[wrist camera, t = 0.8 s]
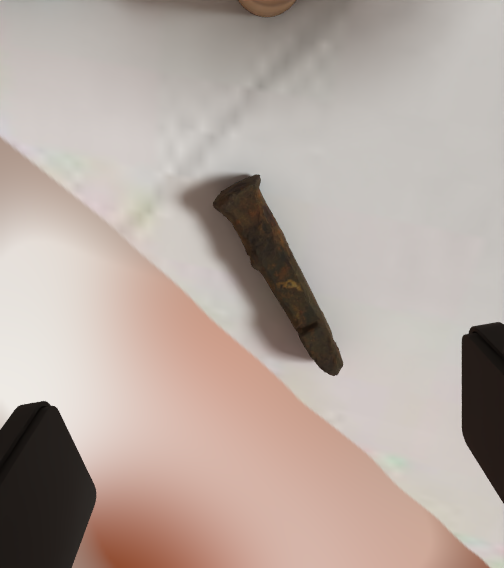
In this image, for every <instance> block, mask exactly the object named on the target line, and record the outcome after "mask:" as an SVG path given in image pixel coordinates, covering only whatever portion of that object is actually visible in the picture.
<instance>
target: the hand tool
mask: <svg viewBox="0 0 504 568" xmlns="http://www.w3.org/2000/svg"><path fill="white" fill-rule="evenodd" d="M260 182H261V179H260V175H254V176H251V177H248V178H246V179H244V180H242V181H240V182H238V183H236V184H234V185H232V186H230V187H229V188H227V189H225V190H223V191H221V193H220V195H218V196H217V198H216V199H215V201H214V202H213V206H214V208H215V209H216V210H218V211H219V212H221V213H222V214H223V215H224V216H225V217H227V219H228V220H229V221H230V222H231V223H232V224H233V226H234V228H235V230H236V231H237V233H238V235H239V236H240V238H241V241H242V243H243V245H244V246H245V249H246V252H247V254H248V255H249V256H250V260H251V265H252V266H253V268H254V269H256V270H259V271H260V272H261V273H262V275H263V276H264V278H265V279H266V281H267V283H268V284H269V286H270V288H271V290H272V291H273V293H274V295H275V296H276V298H277V299H278V301H279V302H280V304H281V306H282V307H283V309H284V310H285V312H286V314H287V315H288V317H289V319H290V321H291V323H292V324H293V326H294V328H295V329H296V331H297V332H298V334H299V337H300V340H301V342H302V343H303V345H304V347H305V348H306V349H307V351H308V353H309V355H310V357H311V358H312V359H313V360H314V361H315V362H316V364H317V365H318V366H319V367H320V368H321V369H322V370H323V371H324V372H326V373H328V374H329V375H332V376H335V375H338V373H339V371H340V369H341V368H342V367H343V361H342V358H341V355H340V352H339V348H338V347H337V345H336V342H335V341H334V340H333V337H332V332H331V330H330V327H329V325H328V323H327V321H326V319H325V317H324V314H323V312H322V311H321V309H320V308H319V306H318V304H317V302H316V299H315V297H314V295H313V293H312V291H311V289H310V287H309V285H308V283H307V281H306V279H305V277H304V275H303V273H302V271H301V269H300V267H299V266H298V264H297V262H296V260H295V258H294V256H293V254H292V252H291V250H290V248H289V246H288V243H287V242H286V239H285V236H284V234H283V232H282V230H281V229H280V227H279V225H278V223H277V221H276V220H275V218H274V216H273V214H272V212H271V210H270V209H269V207H268V206H267V204H266V202H265V200H264V198H263V196H262V194H261V192H260V189H259V186H260Z"/></svg>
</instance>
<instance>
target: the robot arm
mask: <svg viewBox="0 0 504 568" xmlns="http://www.w3.org/2000/svg"><path fill="white" fill-rule="evenodd" d="M462 432H463V436H464V439H465V442H466V444H467V446H468V447H469V449H470V451H471V452H472V454H473V455H474V457H475V459H476V460H477V462H478V463H479V465H480V467H481V468H482V470H483V471H484V473H485V475H486V476H487V478H488V479H489V481H490V482H491V484H492V486H493V487H494V489H495V490H496V492H497V494H498V495H499V497H500V498H501V500H502V502H503V503H504V324H502V323H500V322H496V323H490V324H484V325H479V326H473V327H471V328H470V331H469V334H466V335H464V336H463V337H462ZM95 501H96V489H95V485H94V483H93V481H92V479H91V477H90V475H89V473H88V471H87V469H86V467H85V465H84V462H83V460H82V458H81V456H80V454H79V452H78V450H77V448H76V446H75V444H74V442H73V440H72V438H71V435H70V433H69V431H68V429H67V427H66V425H65V423H64V421H63V419H62V417H61V415H60V413H59V411H58V409H57V408H56V407H55V406H51V405H50V404H49V403H48V402H46V401H41V402H36V403H30V404H24V405H20V406H18V407H17V408H16V409H15V410H14V412H13V413H12V414H11V416H10V417H9V419H8V420H7V422H6V423H5V424H4V426H3V427H2V428H1V430H0V568H72V565H73V562H74V560H75V557H76V554H77V551H78V549H79V546H80V543H81V541H82V538H83V535H84V532H85V530H86V527H87V524H88V521H89V519H90V516H91V513H92V510H93V508H94V505H95Z"/></svg>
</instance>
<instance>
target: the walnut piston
mask: <svg viewBox="0 0 504 568" xmlns="http://www.w3.org/2000/svg"><path fill="white" fill-rule="evenodd" d="M238 1H239V3H240V4H241V5H242V6H243V7H244V8H245V9H246V10H248V11H249V12H251V13H252V14H255V15H257V16H261V17H273V16H277V15H279V14H281V13H283V12H285V11H286V10H288V9H289V8H290V7H291V6H292V5H293V4H294V3H295V1H296V0H238Z"/></svg>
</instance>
